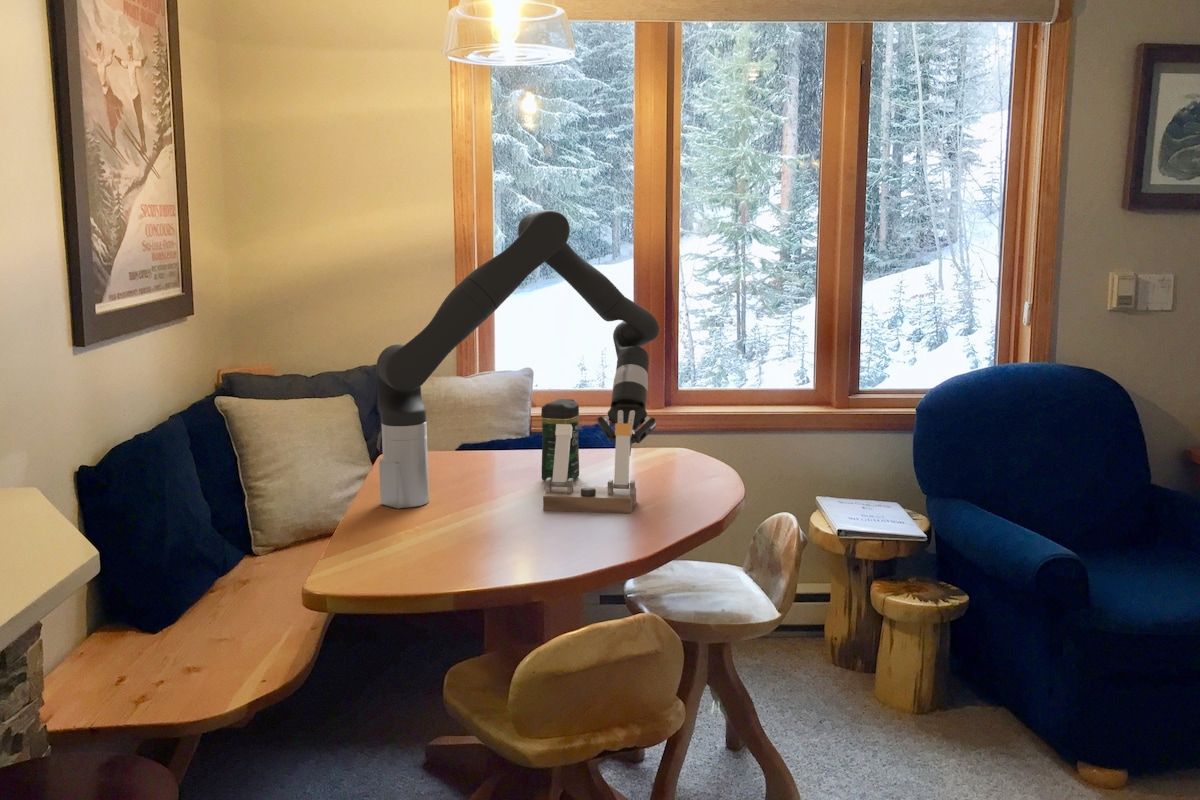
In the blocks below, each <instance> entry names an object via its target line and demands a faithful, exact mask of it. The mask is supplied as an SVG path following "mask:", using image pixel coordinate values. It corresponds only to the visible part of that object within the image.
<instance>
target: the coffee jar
mask: <svg viewBox="0 0 1200 800" xmlns="http://www.w3.org/2000/svg"><path fill="white" fill-rule="evenodd" d="M579 408H580V407H579V404H578V402H576V401H575V399H572V398H571V399H570V398H557V399H555V400H553V401H551V402H549V403H546V404H544V405H543V406H541V413H540V415H541V416H540V419H541V420H540V421H541V432H542V433H541V480H542V481H543V482H545V480H546V479H547V478H551V482H552V478H553V467H554V456H555V444H556V435H555V432H556V424H571V425H572V427H573V429H572V438H571V440H570V451H569V463H568V475H567V481H568V479H569V478H573V481H575V480H576V479H578V477H579V476H580V454H579V451H580V450H579V421H580V409H579Z"/></svg>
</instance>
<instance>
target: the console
mask: <svg viewBox="0 0 1200 800" xmlns="http://www.w3.org/2000/svg"><path fill="white" fill-rule="evenodd" d="M544 483H545V484H544V486H545V487H544V488H545V490H544V491H545V494H543V496H542V497H543V498H542V502H543V503H542V504H543V507H542V508H543V511H548V510H551V511H552V512H553V511H554V512H559V511H560V512H578V511H584V512H585V513H608V512H610V513H614V514H617V513H618V514H632V511H633V509H634V507H635V505H636V503H637V488H636V480H635V479H631V480H630V482H629V489H613V483H614V479H611V478H610V479H608V481H607V486H584V485H583V486H582V485H580V486H578V485H577V486H576V485H574V480H573V478H569V479H568V481H567V487H552V486H551V478H547V479H546V480H545V481H544ZM551 511H550V512H551ZM584 512H583V513H584ZM610 513H609V514H610Z"/></svg>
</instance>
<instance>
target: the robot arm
mask: <svg viewBox="0 0 1200 800" xmlns="http://www.w3.org/2000/svg"><path fill="white" fill-rule="evenodd" d="M570 228H571V227H570V222H569V220H568V219H567V217H566V216H565V215H564V214H563V213H561V212H559V211H557V210H553V209H542V210H535V211H531V212H529V213H527V214H525V215H524V216H523V217H522V218H521V219H520V221H519V223H518V227H517V235H518V237H517V238H516V239H515V240H514V241H513V242H512V243H511V244H510V245H509V246H508V247H506V249H504V250H503V251H501V252H500V253H499V254H497V255H495V256H494V257H492V258H490V259H489V260H487V261H486V262H484V263H483V264H481V265H479V266H478V267H477V268H475V269H474V270H473V271H471V272H470V273H469V274H468V275H467V276H466V277H465V278H463V280H461V282H460V283H458V284H457V285H456V286H455V287H454V288H452V290H451V291H450V293H448V295H447V296H446V297H445V298H444V300H443V301H442V303H441V304H440V306H439V308H438V310H437V311H436V312H435V314H434V316H433V317H432V318H431V320H430V322H429V323H428V325H426V326H425V327H424V328H423V330H421V331H420V332H419V333H418V334H416V335H415V336H414V337H413V338H412V339H411V340H410V341H408V342H407V343H405V344H392V345H389V346H387V347H386V348H384V349H383V350H382V351H381V352H380V354H379V355H378V359H377V360H376V364H375V365H376V369H375V374H376V376H375V380H376V393H377V405H378V410H379V412H380V421H381V440H382V442H381V444H382V459H379V460H378V468H379V469H378V470H379V473H378V474H379V494H380V495H379V497H380V505H384V506H387V507H391V508H395V509H403V508H415V507H420V506H423V505H426V504H428V503H429V502H430V493H429V492H430V490H429V489H430V487H429V486H430V485H429V467H428V465H429V462H428V437H427V436H428V433H427V410H426V408H425V405H424V402H423V397H422V389H421V388H422V387H421V386H423V385H424V384H425V383H426V382H427V380H428V379H429V378H430V376H431V375H432V374H433V373H434V372H435V370H436V369H437V368H438V367H439V366H440V364H441V363H442V362H443V361H444V360H445V359H446V357H447V356H449V354H450V353H451V352H452V351H453V350H454V349H455V348H456V347H457V346H458V345H459V344H461V343H462V342H464V341H465V339H467V338H468V337H469V336H470V335H471V334H472V333H473V332H474V331H475V330H476V329H477V328H478V327H480V326H481V324H483V323H484V322H485V321H486V320H487V319H488V318H489V317H490V316H492V314H494V312H496V310H498V308H499V307H500V306H501V305H502V304H503V303H504V302H505V301H506V300H507V299H508V298H509V297H510V296H511V295H512V294H513V293H514V292H515V291H516V289H518V287H520V286H521V284H522V283H523V282H524V281H525V280H526V279H527V277H528V276H529V275H531V273H532V272H534V271H535V270H536V269H538V268H539V267H541V266H542V265H543V264H544V263H545V264H546V265H548V266H549V267H550V268H552V269H553V271H555V272H556V273H557V274H558V275H560V276H561V278H562V279H564V280H565V281H566V283H568V284H569V285H570V286H571V288H572V289H574V290H575V291H576V293H578V295H579V296H581V298H582V299H583V300H584V301H585V302H586V303H587V304H588V305H589V306H590V307H591V308H592V309H593V310H594V311H595V312H596V313H597V314H598V315H599V317H600V318H601V319H603V320H604V321H605V322H614V321H620V322H619V323H618V324H617V325H616V326H615V329H614V330H613V334H612V338H613V339H612V340H613V343H614V348H615V353H616V357H617V359H616V368H615V369H616V370H615V374H614V379H613V385H612V395H611V402H610V407H609V410H608V411H607V415H605V416H598V417H597V419H596V420H597V423H598V427H599V428H600V430H601V432H603V433H604V434H605V436H606V437H607V439H608V440H609V441H610V442H611V443H616V435H615V430H613V429H612V427H611V426H610V423H611V424H612V425H613V426H614V428H615V423H622V424H631V425H632V434H631V436H630V455H631V453H632V445H633V444H635V443H636V444H640V443H641V442H642V441H643V440H645V438H646V437H648V435H650V434H651V432H653V431H654V430H655V429H656V428H657V423H656V419H655V418H654V417H650V416H649V415H648V412H647V411H646V410H647V409H646V408H647V398H648V390H649V388H648V386H649V379H648V378H649V377H648V374H649V365H650V363H649V361H650V360H649V359H650V357H649V354H648V352H647V350H646V349H644V348H643V346H645V345H646V344H648V343H651V342H652V341H654V340H656V339H657V338H658V336H659V333H660V326H659V323H658V321H657V319H656V318H655V316H654V315H653V314H652V313H651V312H650V311H648V310H647V309H645V308H644V307H642V306H641V305H639V304H637V303H636V302H634V301H632V300H631V299H629V298H627V297H626V296H625V295H624V294H623V293H622V292H621V291H620V290H619V289H618V287H617V286H616V285H615V284H614V283H613V282H612V281H611V280H610V279H609V278H608V277H607V276H606V275H605V274H603V272H601V271H600V270H599V269H597V268H596V267H595V266H593V265H592V264H590V263H589V262H588V261H586V260H585V259H584V258H582V257H581V256H580V255H579V253H577V252H576V251H575V250H574V249H573V248H572V247H571V246H570V245H569V243H568V242H567V241H568V240H569V237H570V232H571V230H570ZM640 426H641V427H640ZM636 430H637V431H636Z"/></svg>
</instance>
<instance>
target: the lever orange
mask: <svg viewBox="0 0 1200 800" xmlns="http://www.w3.org/2000/svg"><path fill="white" fill-rule="evenodd" d="M614 432H615V435H616V442H615V447H614V449H615V450H614V451H615V452H614V454H615V455H614V474H613V475H614V476H613V477H614V479H613V489H629V488H630V482H629V481H630V457H631V454H630V436H631V434H632V425H631V424H622V423H615V427H614Z"/></svg>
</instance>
